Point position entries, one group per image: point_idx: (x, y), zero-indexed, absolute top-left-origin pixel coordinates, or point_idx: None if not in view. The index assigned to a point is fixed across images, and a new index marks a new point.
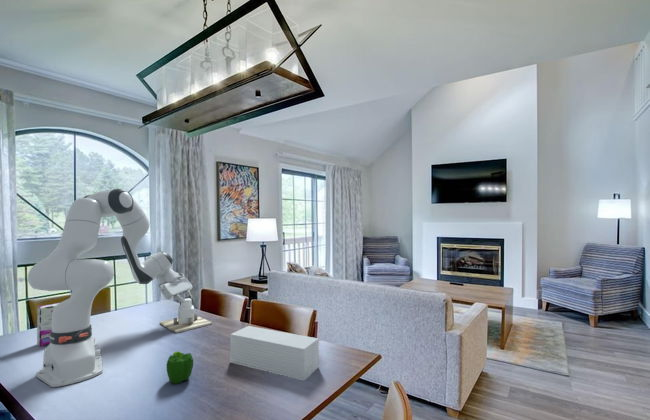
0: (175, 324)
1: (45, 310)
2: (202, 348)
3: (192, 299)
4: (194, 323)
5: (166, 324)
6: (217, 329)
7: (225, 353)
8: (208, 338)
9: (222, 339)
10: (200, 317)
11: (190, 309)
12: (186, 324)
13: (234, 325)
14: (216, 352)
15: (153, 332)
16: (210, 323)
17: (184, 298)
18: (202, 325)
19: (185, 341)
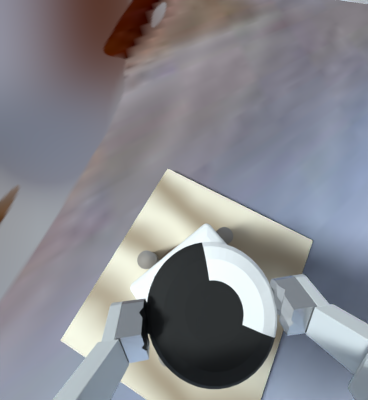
0: None
1: None
2: (360, 84)
3: (187, 246)
4: None
5: (262, 367)
6: (215, 123)
7: (353, 28)
8: (295, 107)
9: (284, 71)
10: (112, 260)
11: (222, 239)
12: None
13: (161, 94)
14: (360, 46)
15: None
16: (172, 172)
17: (234, 326)
18: (204, 188)
19: (349, 154)
